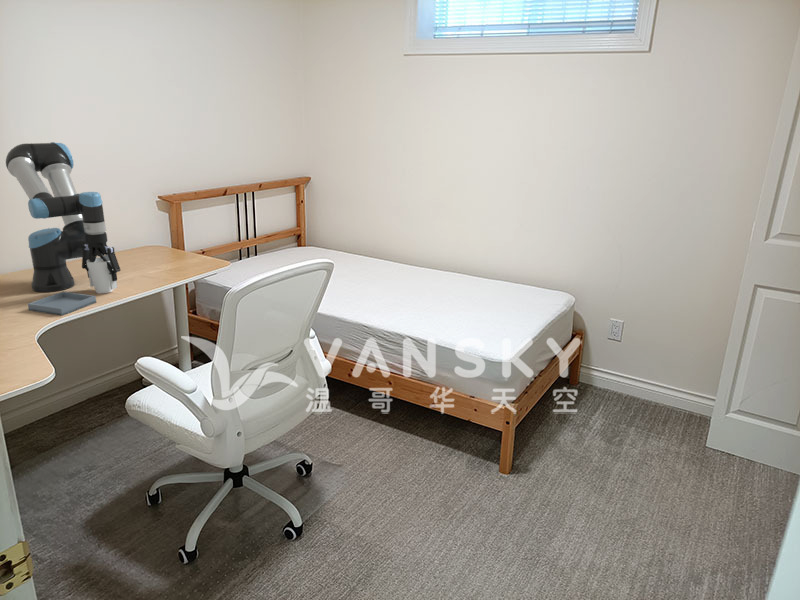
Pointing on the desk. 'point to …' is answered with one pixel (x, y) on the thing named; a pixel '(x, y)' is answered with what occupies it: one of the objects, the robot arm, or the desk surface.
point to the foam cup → (99, 275)
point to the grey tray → (62, 303)
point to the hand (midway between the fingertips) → (103, 287)
